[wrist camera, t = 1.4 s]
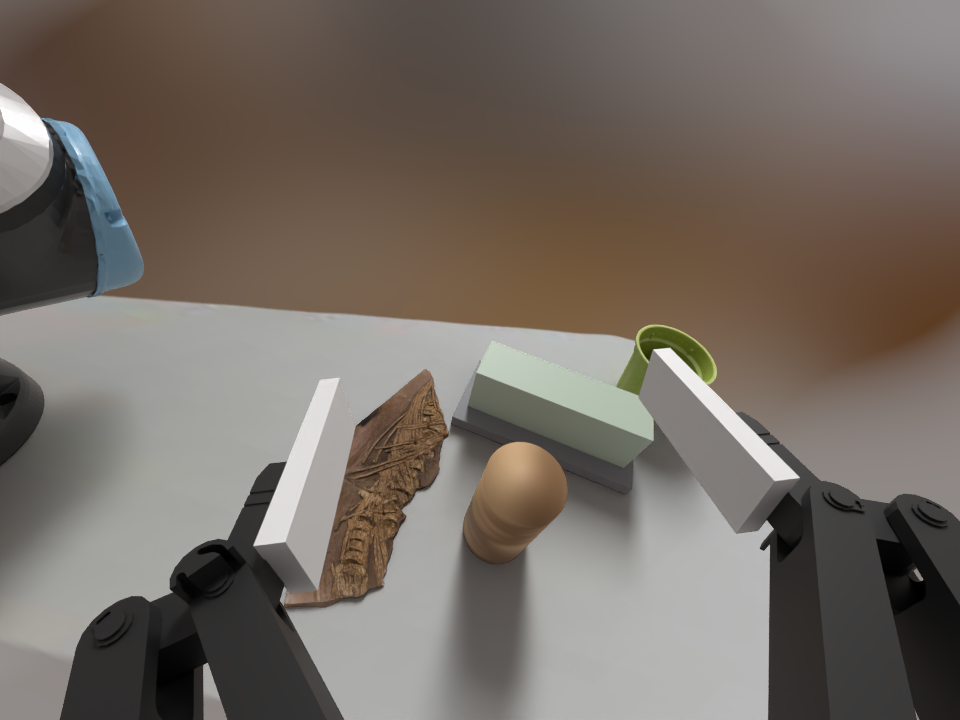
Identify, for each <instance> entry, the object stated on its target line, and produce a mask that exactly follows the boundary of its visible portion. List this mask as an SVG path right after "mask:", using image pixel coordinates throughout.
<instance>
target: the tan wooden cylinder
mask: <svg viewBox="0 0 960 720" xmlns="http://www.w3.org/2000/svg"><path fill="white" fill-rule="evenodd" d="M567 494H568V486H567V480H566V477H565V474H564V472H563V470H562V468H561V466H560V464H559V463H558V462H557V460H556V459H555V458H554V457H553V456H552V455H551V454H550V453H549V452H547V451H546V450H544V449H543V448H541V447H539V446H537V445H534V444H531V443H527V442H513V443H509V444H506V445H504V446H502V447H500V448H499V449H497V450H496V451H495V452H494V453H493V454H492V456H491V457H490V459H489V461H488V463H487V465H486V468H485V470H484V472H483V475H482V477H481V479H480V482H479V484H478V486H477V489H476V491H475V494H474V496H473V498H472V501H471V503H470V505H469V508H468V510H467V512H466V515H465V518H464V523H463V530H464V536H465V540H466V542H467V544H468V546H469V548H470V549H471V551H472V552H473V553H474V554H475V555H476V556H477V557H479V558H480V559H482V560H483V561H485V562H488V563H492V564H502V563H506V562H509V561H511V560H512V559H514V558H515V557H516V556H517V555H518V554H519V553H520V552H521V551H522V550H523V549H524V548H525V547H526V546H527V545H528V544H529V543H530V542H532V541H533V540H534V539H535V538H536V537H537V536H538V535H539V534H540V533H541V532H542V531H543V530H544V529H545V528H546V527H547V526H548V525H549V524H550V523H551V522H552V521H553V520H554V519H555V518H556V517H557V516H558V515H559V513H560V512H561V511H562V509H563V508H564V506H565V503H566V500H567Z"/></svg>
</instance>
